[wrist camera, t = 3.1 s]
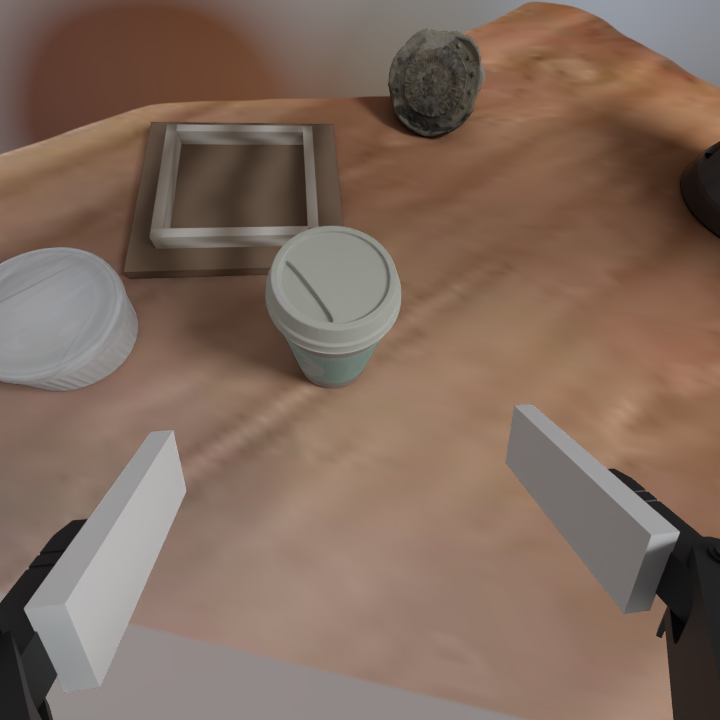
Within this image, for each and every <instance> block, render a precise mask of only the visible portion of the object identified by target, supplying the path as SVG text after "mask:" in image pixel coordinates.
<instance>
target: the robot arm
mask: <svg viewBox="0 0 720 720" xmlns="http://www.w3.org/2000/svg"><path fill="white" fill-rule="evenodd" d="M681 190H682V194H683V197H684V199H685V201H686V203H687V205H688V206H689V208H690V209H691V211H692V212H693V213H694V214H695V216H696V217H697V218H698V219H699V220H700V221H701V222H702V223H703V224H704V225H705V226H707V227H708V228H709V229H710V230H712V231H713V232H714V233H716V234H717V235H719V236H720V141H719V142H718V143H716V144H714V145H713V146H711V147H709V148H708V149H706V150H705V151H704V152H703V153H701V154H700V155H699V156H698V157H697V158H696V159H695V160H694V161H693V162H692V163H691V164H690V165H689V166H688V167H687V168H686V169H685V171H684V172H683V175H682V178H681ZM505 463H506V464H507V465H508V466H509V468H510V469H511V470H512V472H513V473H514V474H515V475H516V477H517V478H518V479H519V481H520V482H521V483H522V484H523V486H524V487H525V488H526V489H527V491H528V492H529V493H530V495H531V496H532V497H533V498H534V500H535V501H536V502H537V504H538V505H539V506H540V507H541V509H542V510H543V511H544V512H545V514H546V515H547V516H548V518H549V519H550V520H551V521H552V523H553V524H554V525H555V527H556V528H557V529H558V530H559V532H560V533H561V534H562V535H563V537H564V538H565V539H566V541H567V542H568V543H569V544H570V546H571V547H572V548H573V550H574V551H575V552H576V553H577V555H578V556H579V557H580V558H581V560H582V561H583V562H584V564H585V565H586V566H587V567H588V569H589V570H590V571H591V573H592V574H593V575H594V576H595V578H596V579H597V580H598V581H599V583H600V584H601V585H602V587H603V588H604V589H605V590H606V592H607V593H608V594H609V595H610V597H611V598H612V599H613V601H614V602H615V603H616V604H617V606H618V607H619V608H620V610H621V611H622V612H623V613H624V614H626V613H633V612H641V611H648V610H650V608H651V606H652V603H653V601H654V598H655V596H656V594H657V595H658V596H659V597H660V598H661V599H662V600H663V602H664V603H665V604H666V605H667V608H666V610H665V613H664V615H663V618H662V620H661V623H660V625H659V628H658V630H657V635H656V636H658V637H660V638H662V636H663V633H664V632H665V631H666V642H667V653H668V664H669V675H670V686H671V697H672V708H673V719H674V720H720V539H718V538H713V537H702V536H701V535H700V534H699V533H698V532H696V531H695V530H694V529H693V528H691V527H690V526H689V525H688V524H687V523H685V522H684V521H683V520H682V519H681V518H679V517H678V516H677V515H676V514H674V513H673V512H672V511H671V510H670V509H668V508H667V507H666V506H665V505H664V504H662V503H661V502H660V501H659V502H658V501H657V499H656V498H655V497H654V496H653V495H651V494H650V493H649V492H646V491H645V489H644V488H643V487H642V486H641V485H639V484H638V483H637V482H636V481H635V480H633V479H632V478H631V477H629V476H627V475H625V474H623V473H621V472H619V471H617V470H616V469H607V468H605V467H604V466H603V465H602V464H601V463H600V462H598V461H597V460H596V459H595V458H594V457H593V456H592V455H590V454H589V453H588V452H587V451H586V450H585V449H583V448H582V447H581V446H580V445H579V444H578V443H576V442H575V441H574V440H573V439H572V438H571V437H570V436H568V435H567V434H566V433H565V432H564V431H563V430H561V429H560V428H559V427H558V426H557V425H556V424H554V423H553V422H552V421H551V420H550V419H549V418H547V417H546V416H545V415H544V414H543V413H542V412H541V411H539V410H538V409H537V408H536V407H535V406H534V405H532V404H530V405H516V406H514V411H513V417H512V424H511V430H510V437H509V443H508V449H507V456H506V462H505ZM185 493H186V487H185V482H184V477H183V473H182V468H181V464H180V459H179V455H178V450H177V445H176V441H175V436H174V432H173V430H167V431H153V432H150V434H149V435H148V436H147V438H146V439H145V441H144V442H143V443H142V445H141V446H140V448H139V449H138V450H137V452H136V453H135V455H134V456H133V457H132V459H131V460H130V462H129V463H128V464H127V466H126V467H125V468H124V470H123V471H122V473H121V474H120V475H119V477H118V478H117V480H116V481H115V482H114V484H113V485H112V487H111V488H110V489H109V491H108V492H107V493H106V495H105V496H104V498H103V499H102V500H101V502H100V503H99V505H98V506H97V507H96V509H95V510H94V512H93V513H92V514H91V516H90V517H89V519H84V520H73V521H71V522H70V523H69V524H68V525H66V526H65V527H64V528H62V529H61V530H60V531H59V532H57V533H56V534H55V535H54V536H53V537H52V538H51V539H50V541H49V542H48V543H47V544H46V546H45V547H44V548H43V549H42V551H41V552H40V555H39V556H37V557H36V558H35V560H34V561H33V562H32V563H31V565H30V566H29V570H26V571H25V572H24V574H23V575H22V576H21V577H20V579H19V580H18V581H17V582H16V584H15V585H14V586H13V587H12V589H11V590H10V591H9V593H8V594H7V595H6V596H5V598H4V599H3V600H2V601H1V603H0V720H53V718H52V714H51V710H50V707H49V704H48V702H47V700H46V698H45V697H46V695H47V693H48V692H49V690H50V688H51V686H52V684H53V682H54V680H55V679H56V677H57V679H58V681H59V683H60V685H61V687H62V690H63V692H64V693H66V692H73V691H80V690H88V689H95V688H100V687H101V685H102V682H103V680H104V678H105V675H106V673H107V671H108V669H109V666H110V664H111V662H112V660H113V657H114V655H115V653H116V650H117V648H118V646H119V643H120V641H121V639H122V637H123V634H124V632H125V630H126V628H127V625H128V623H129V621H130V619H131V616H132V614H133V612H134V609H135V607H136V605H137V603H138V600H139V598H140V596H141V593H142V591H143V589H144V587H145V584H146V582H147V580H148V578H149V575H150V573H151V571H152V568H153V566H154V564H155V562H156V559H157V557H158V555H159V552H160V550H161V548H162V546H163V543H164V541H165V539H166V537H167V534H168V532H169V530H170V527H171V525H172V523H173V521H174V518H175V516H176V514H177V511H178V509H179V507H180V505H181V502H182V500H183V498H184V496H185Z"/></svg>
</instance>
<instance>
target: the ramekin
mask: <svg viewBox="0 0 720 720" xmlns="http://www.w3.org/2000/svg"><path fill="white" fill-rule="evenodd" d="M137 334H138V319H137V315H136V312H135V310H134V308H133V306H132V304H131V302H130V300H129V298H128V296H127V294H126V291H125V288H124V285H123V283H122V281H121V279H120V277H119V276H118V274H117V273H116V272H115V270H114V269H113V268H112V267H111V266H110V265H109V264H108V263H107V262H106V261H105V260H103V259H102V258H101V257H99V256H97V255H95V254H93V253H90V252H87V251H84V250H81V249H75V248H68V247H54V248H44V249H38V250H34V251H30V252H26V253H23V254H20V255H18V256H15V257H12V258H10V259H8V260H6V261H4V262H2V263H1V264H0V381H2V382H6V383H13V384H23V385H27V386H31V387H35V388H40V389H44V390H51V391H68V390H75V389H79V388H83V387H86V386H88V385H91V384H94V383H96V382H98V381H100V380H102V379H103V378H105V377H107V376H109V375H110V374H111V373H113V372H114V371H115V370H116V369H117V368H118V367H120V366H121V365H122V363H123V362H124V361H125V360H126V359H127V357H128V355H129V354H130V353H131V351H132V349H133V347H134V345H135V342H136V340H137Z"/></svg>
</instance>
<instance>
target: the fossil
mask: <svg viewBox="0 0 720 720" xmlns="http://www.w3.org/2000/svg"><path fill="white" fill-rule="evenodd" d="M482 81H483V72H482V70H481V55H480V51H479V48H478V46H477V44H476V42H475V41H474V40H473V39H472V38H471V37H470V36H468V35H464V34H462V33H460V32H457V31H451V32H447V31H439V32H437V31H434V30H428V29H423V30H421V31H419V32H417V33H416V34H415V35H413V36H412V37H411V38H410V39H409V40H408V41H407V42H406V44H405V46H403V47H402V48H401V50H399V51H398V53H397V55H396V56H395V58H394V59H393V62H392V65H391V68H390V74H389V83H388V86H389V90H390V97H391V101H392V105H393V109H394V112H395V115H396V117H397V119H398V120H399V121H400V122H401V123H402V124H403V125H404V126H405V127H406V128H407V129H409V130H410V131H412V132H414V133H415V134H418V135H421V136H425V137H436V136H442V135H445V134H448V133H450V132H452V131H454V130H455V129H457V128H458V127H459V126H461V125H462V124H463V123H464V122H465V121H466V120H467V118H468V117H469V116H470V114H471V113H472V111H473V105H474V101H475V99H476V97H477V95H478V92H479V91H480V89H481V85H482Z"/></svg>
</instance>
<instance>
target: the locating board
mask: <svg viewBox="0 0 720 720" xmlns="http://www.w3.org/2000/svg"><path fill="white" fill-rule="evenodd" d="M322 226H342V227H343V217H342V207H341V197H340V187H339V177H338V167H337V157H336V147H335V137H334V127H333V124H274V123H190V122H151V125H150V130H149V136H148V141H147V147H146V152H145V158H144V163H143V169H142V174H141V180H140V185H139V190H138V196H137V201H136V207H135V212H134V218H133V223H132V229H131V234H130V240H129V245H128V251H127V256H126V261H125V267H124V273H125V274H126V276H127V277H128V278H129V279H133V278H166V277H199V276H232V275H264V274H268V273H269V270H270V268H271V266H272V263H273V260H274V258H275V256H276V254H277V253H278V251H279V250H280V249H281V247H282V246H283V245H284V244H285V243H286V242H287V241H289V240H290V239H291V238H292V237H294V236H296V235H297V234H299V233H301V232H303V231H306V230H309V229H312V228H316V227H322Z"/></svg>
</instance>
